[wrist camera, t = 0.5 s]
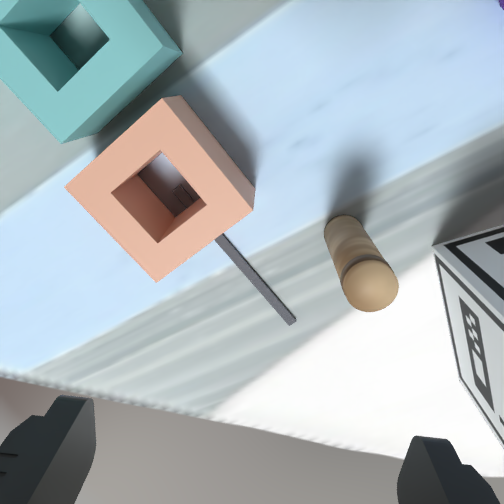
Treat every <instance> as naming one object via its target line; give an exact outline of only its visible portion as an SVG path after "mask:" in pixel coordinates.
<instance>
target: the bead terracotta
mask: <svg viewBox="0 0 504 504" xmlns="http://www.w3.org/2000/svg"><path fill="white" fill-rule="evenodd" d="M162 152H163V154H164V155H165V156H166V157H167V158H168V159H169V161H170V162H171V163H172V164H173V165H174V166H175V168H176V169H177V170H178V171H179V172H180V174H181V175H182V176H183V177H184V178H185V179H186V181H187V182H188V183H189V184H190V185H191V186H192V188H193V189H194V190H195V191H196V192H197V194H198V195H199V196H200V198H199V199H198V200H197V201H195V203H193V204H192V205H191V206H190V207H188V208H186V209H185V210H184V211H183V212H181V213H180V214H179V215H178V216H176V217H175V216H174V215H173V214H172V213H171V212H170V211H169V210H168V208H167V207H166V206H165V205H164V204H163V203H162V202H161V201H160V199H159V198H158V197H157V196H156V195H155V194H154V193H153V192H152V190H151V189H150V188H149V187H148V186H147V185H146V184H145V183H144V181H143V180H142V179H141V178H140V177H139V176H138V175H137V174H138V173H139V172H140V171H141V170H142V169H144V168H145V167H146V166H147V165H148V164H149V163H150V162H152V161H153V160H154V159H155V158H156V157H157V156H159V155H160V154H161V153H162ZM64 188H65V189H66V190H67V191H68V192H69V193H70V194H71V195H72V196H73V197H74V198H75V199H76V200H77V201H78V202H79V203H80V204H81V205H82V206H83V207H84V208H85V209H86V210H87V212H88V213H89V214H90V215H91V216H92V217H93V218H94V219H95V220H96V221H97V222H98V223H99V224H100V225H101V226H102V227H103V228H104V229H105V230H106V231H107V232H108V233H109V234H110V235H111V236H112V237H113V238H114V239H115V241H116V242H117V243H118V244H119V245H120V246H121V247H122V248H123V249H124V250H125V251H126V252H127V253H128V254H129V255H130V256H131V257H132V258H133V259H134V260H135V261H136V262H137V263H138V264H139V265H140V266H141V267H142V268H143V270H144V271H145V272H146V273H147V274H148V275H149V276H150V277H151V278H152V279H153V280H154V281H155V282H156V283H157V282H158V281H160V280H161V279H162V278H164V277H165V276H166V275H168V274H169V273H170V272H172V271H173V270H174V269H176V268H177V267H178V266H180V265H181V264H182V263H184V262H185V261H186V260H188V259H189V258H190V257H192V256H193V255H194V254H196V253H197V252H198V251H200V250H201V249H202V248H204V247H205V246H206V245H208V244H209V243H210V242H212V241H213V240H214V239H216V238H217V237H218V236H220V235H221V234H222V233H224V232H225V231H226V230H228V229H229V228H230V227H232V226H233V225H234V224H236V223H237V222H238V221H240V220H241V219H242V218H244V217H245V216H246V215H248V214H249V213H250V212H252V211H253V207H254V197H255V188H254V187H253V185H252V184H251V183H250V182H249V180H248V179H247V178H246V176H245V175H244V174H243V173H242V171H241V170H240V169H239V168H238V166H237V165H236V164H235V163H234V161H233V160H232V159H231V158H230V156H229V155H228V154H227V153H226V151H225V150H224V149H223V147H222V146H221V145H220V144H219V142H218V141H217V140H216V139H215V137H214V136H213V135H212V134H211V132H210V131H209V130H208V129H207V127H206V126H205V125H204V124H203V122H202V121H201V120H200V118H199V117H198V116H197V115H196V113H195V112H194V111H193V110H192V108H191V107H190V106H189V105H188V103H187V102H186V101H185V100H184V98H183V97H182V96H181V95H179V96H172V97H165V98H161V99H160V100H159V101H158V102H157V103H156V104H155V105H154V106H152V107H151V108H150V109H149V110H148V111H147V112H146V113H145V114H144V115H143V116H141V117H140V118H139V119H138V120H137V121H136V122H135V123H134V124H133V125H132V126H130V127H129V128H128V129H127V130H126V131H125V132H124V133H123V134H122V135H121V136H119V137H118V138H117V139H116V140H115V141H114V142H113V143H112V144H111V145H110V146H108V147H107V148H106V149H105V150H104V151H103V152H102V153H101V154H100V155H99V156H98V157H96V158H95V159H94V160H93V161H92V162H91V163H90V164H89V165H88V166H87V167H85V168H84V169H83V170H82V171H81V172H80V173H79V174H78V175H77V176H76V177H74V178H73V179H72V180H71V181H70V182H69V183H68V184H67V185H66V186H65V187H64Z"/></svg>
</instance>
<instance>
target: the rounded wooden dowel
mask: <svg viewBox="0 0 504 504" xmlns="http://www.w3.org/2000/svg"><path fill="white" fill-rule="evenodd" d="M324 238H325V241H326V244H327V247H328V249H329V252H330V255H331V257H332V260H333V263H334V265H335V268H336V271H337V273H338V276H339V279H340V282H341V286H342V289H343V292H344V294H345V296H346V297H347V300H348V301H349V303H350V304H351V305H352V306H353V307H354V308H356V309H358V310H361V311H365V312H374V311H379V310H381V309H384V308H386V307H387V306H388V305H390V304H391V303H392V302H393V300H394V299H395V297H396V296H397V293H398V288H399V285H398V280H397V278H396V276H395V274H394V272H393V270H392V269H391V267H390V266H389V264H388V263H387V262H386V261H385V260H384V258H383V257H382V255H381V254H380V252H379V251H378V249H377V248H376V246H375V245H374V243H373V242H372V240H371V239H370V237H369V236H368V234H367V233H366V231H365V230H364V228H363V227H362V225H361V224H360V222H359V221H358V220H357V219H356V218H354V217H352V216H349V215H340V216H337V217H334V218H333V219H331V220H330V221H329V222H328V224H327V225H326V227H325V230H324Z"/></svg>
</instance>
